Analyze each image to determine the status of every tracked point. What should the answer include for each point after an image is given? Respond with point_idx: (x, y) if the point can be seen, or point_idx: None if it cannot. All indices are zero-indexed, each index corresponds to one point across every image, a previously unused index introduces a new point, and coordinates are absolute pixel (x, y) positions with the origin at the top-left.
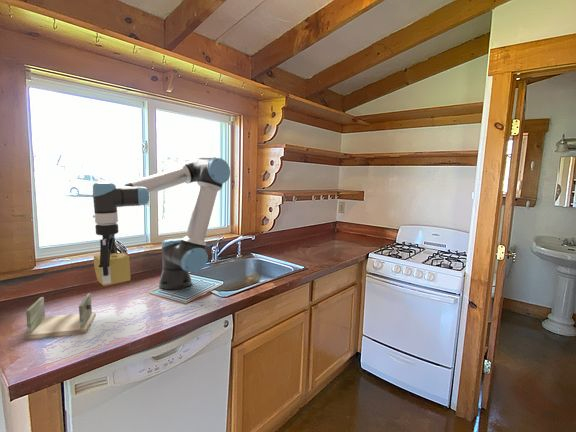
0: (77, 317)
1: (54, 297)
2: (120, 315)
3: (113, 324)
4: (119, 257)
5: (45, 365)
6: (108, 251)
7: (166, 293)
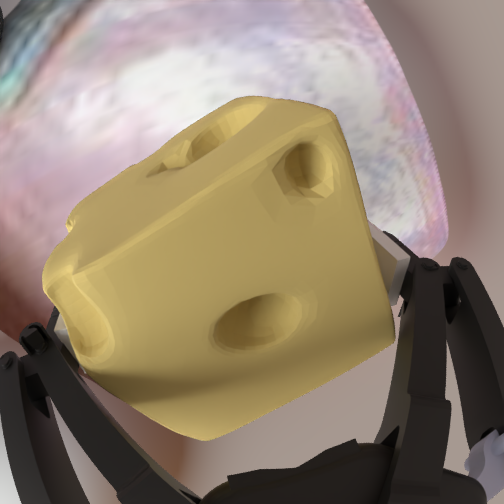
0: None
1: None
2: None
3: None
4: (345, 246)
5: (430, 224)
6: (492, 355)
7: (27, 38)
